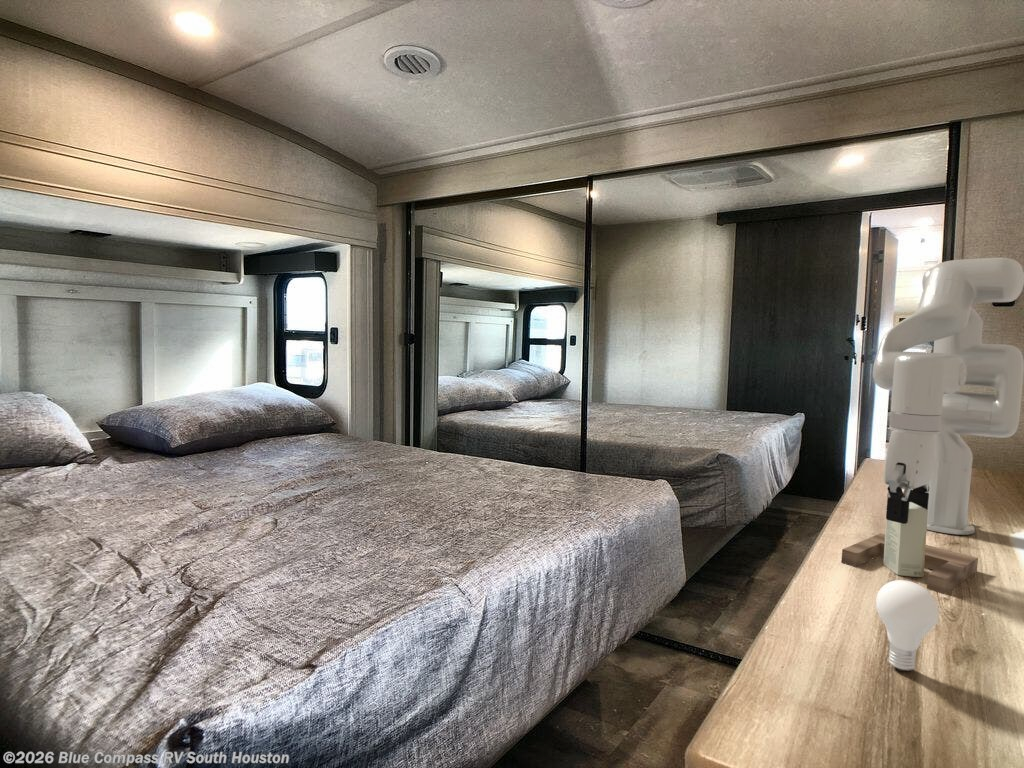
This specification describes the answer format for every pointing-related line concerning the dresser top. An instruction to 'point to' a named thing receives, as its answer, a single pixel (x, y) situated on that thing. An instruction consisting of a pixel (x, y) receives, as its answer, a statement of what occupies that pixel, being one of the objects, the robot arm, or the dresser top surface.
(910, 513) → the skincare box
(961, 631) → the dresser top surface
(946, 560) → the notched board
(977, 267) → the robot arm
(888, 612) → the lightbulb
